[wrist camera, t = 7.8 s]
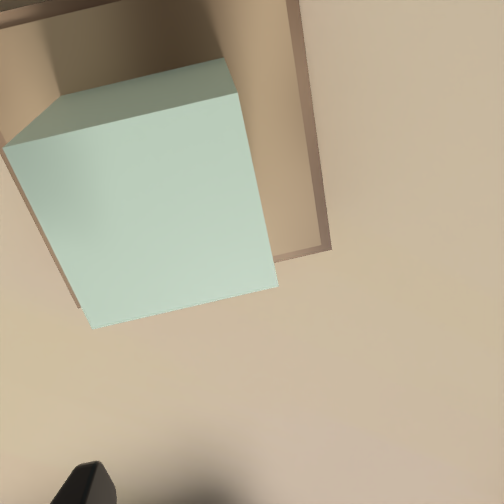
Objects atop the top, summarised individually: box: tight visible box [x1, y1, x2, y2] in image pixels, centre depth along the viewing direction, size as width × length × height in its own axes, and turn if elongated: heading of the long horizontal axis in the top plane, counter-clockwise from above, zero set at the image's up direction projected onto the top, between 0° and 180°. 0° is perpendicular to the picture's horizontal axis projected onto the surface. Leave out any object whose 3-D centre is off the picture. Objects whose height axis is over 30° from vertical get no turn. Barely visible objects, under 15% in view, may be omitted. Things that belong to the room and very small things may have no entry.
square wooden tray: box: [0, 0, 332, 308], centre depth 16 cm, size 10×10×3 cm
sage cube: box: [3, 57, 279, 329], centre depth 13 cm, size 5×5×5 cm
